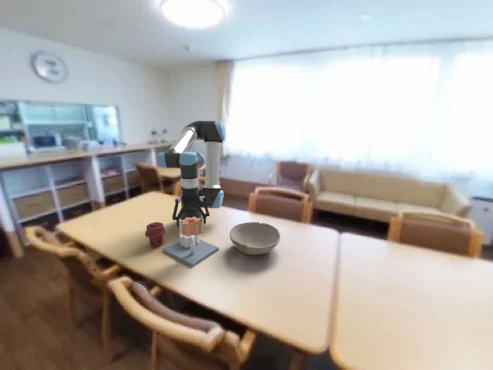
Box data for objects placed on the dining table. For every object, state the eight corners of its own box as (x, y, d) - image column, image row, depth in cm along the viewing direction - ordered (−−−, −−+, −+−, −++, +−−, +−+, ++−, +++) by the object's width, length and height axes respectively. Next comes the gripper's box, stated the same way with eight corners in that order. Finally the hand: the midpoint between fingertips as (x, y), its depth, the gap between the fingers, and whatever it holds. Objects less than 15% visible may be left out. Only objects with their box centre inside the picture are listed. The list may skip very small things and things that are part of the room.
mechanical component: (170, 241, 131) (160, 250, 121) (153, 238, 133) (142, 248, 123) (168, 220, 127) (158, 229, 118) (151, 218, 129) (140, 226, 120)
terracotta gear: (181, 228, 116) (180, 218, 115) (200, 226, 119) (200, 215, 118) (182, 237, 108) (181, 226, 106) (203, 234, 111) (203, 224, 109)
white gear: (187, 236, 133) (187, 227, 131) (202, 240, 129) (201, 231, 127) (176, 244, 124) (175, 235, 123) (191, 249, 120) (190, 239, 119)
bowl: (285, 243, 131) (286, 227, 128) (269, 270, 108) (270, 251, 105) (243, 233, 141) (243, 217, 138) (219, 256, 118) (219, 238, 115)
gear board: (189, 237, 135) (188, 222, 133) (218, 250, 123) (218, 233, 121) (162, 251, 121) (161, 234, 118) (192, 267, 109) (191, 249, 106)
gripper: (163, 190, 100) (167, 237, 107) (215, 187, 107) (216, 231, 113) (163, 185, 107) (167, 230, 113) (212, 182, 114) (213, 224, 120)
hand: (191, 231), depth 113 cm, fingers closed on terracotta gear, 10 cm apart
